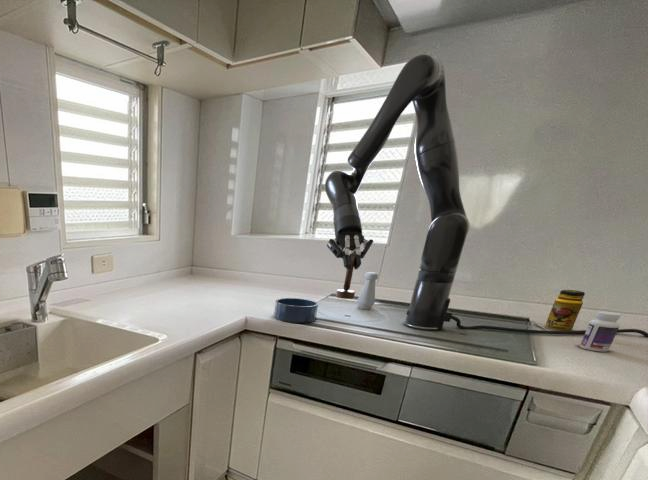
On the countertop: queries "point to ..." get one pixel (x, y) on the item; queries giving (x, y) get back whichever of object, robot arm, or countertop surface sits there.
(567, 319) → the condiment
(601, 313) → the pill bottle
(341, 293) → the brown stamp
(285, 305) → the bowl
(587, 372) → the countertop surface
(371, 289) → the salt shaker
